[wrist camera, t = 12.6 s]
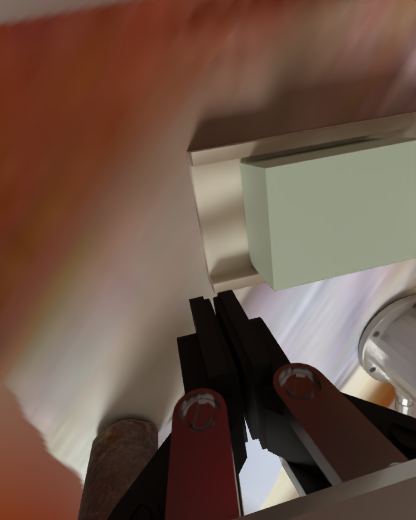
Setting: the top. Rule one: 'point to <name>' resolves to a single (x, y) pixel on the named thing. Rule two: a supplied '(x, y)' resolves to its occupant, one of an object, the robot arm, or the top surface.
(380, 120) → the channel
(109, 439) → the brown textured cylinder
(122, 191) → the top surface
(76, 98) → the top surface
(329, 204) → the sliding block
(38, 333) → the top surface
